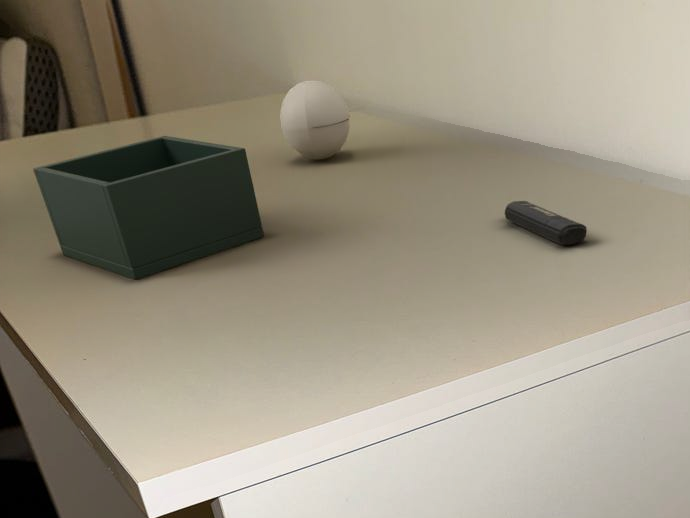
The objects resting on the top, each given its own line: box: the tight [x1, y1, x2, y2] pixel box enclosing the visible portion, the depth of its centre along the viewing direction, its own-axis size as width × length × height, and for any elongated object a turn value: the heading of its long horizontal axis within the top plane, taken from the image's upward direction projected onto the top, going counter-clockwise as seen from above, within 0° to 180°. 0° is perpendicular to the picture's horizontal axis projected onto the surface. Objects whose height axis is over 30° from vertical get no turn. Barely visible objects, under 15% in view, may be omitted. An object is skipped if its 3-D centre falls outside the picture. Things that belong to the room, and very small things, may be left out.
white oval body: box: [279, 80, 366, 160], centre depth 99 cm, size 10×7×7 cm
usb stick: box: [504, 200, 588, 247], centre depth 73 cm, size 10×3×2 cm, turn 27°
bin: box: [32, 135, 265, 280], centre depth 77 cm, size 12×12×7 cm
